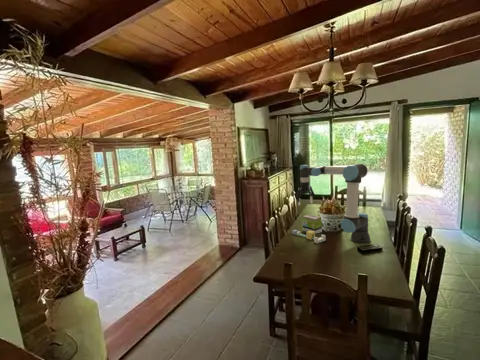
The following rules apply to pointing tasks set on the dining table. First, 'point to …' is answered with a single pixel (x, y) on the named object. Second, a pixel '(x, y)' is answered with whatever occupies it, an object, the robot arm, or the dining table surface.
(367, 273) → the dining table surface
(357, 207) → the robot arm
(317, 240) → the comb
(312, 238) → the cord
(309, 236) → the sleeve
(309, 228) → the tea box
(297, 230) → the connector
